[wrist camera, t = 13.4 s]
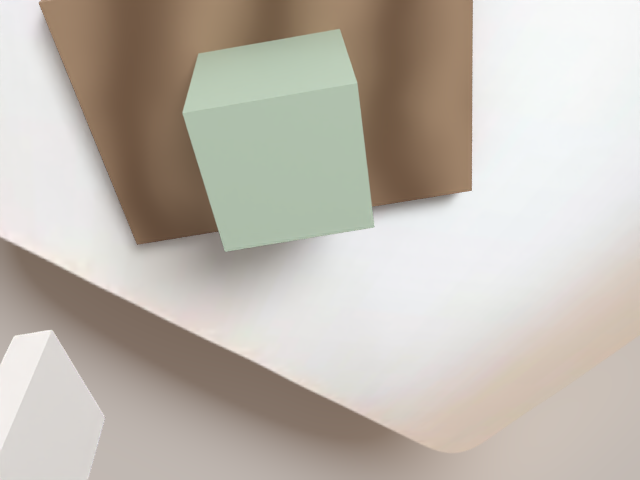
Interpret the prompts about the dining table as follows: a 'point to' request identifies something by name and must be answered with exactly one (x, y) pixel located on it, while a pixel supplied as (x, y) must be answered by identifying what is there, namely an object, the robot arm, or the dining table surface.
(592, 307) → the dining table surface
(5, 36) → the dining table surface
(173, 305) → the dining table surface
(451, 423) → the dining table surface
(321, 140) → the green cube
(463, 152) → the walnut board
